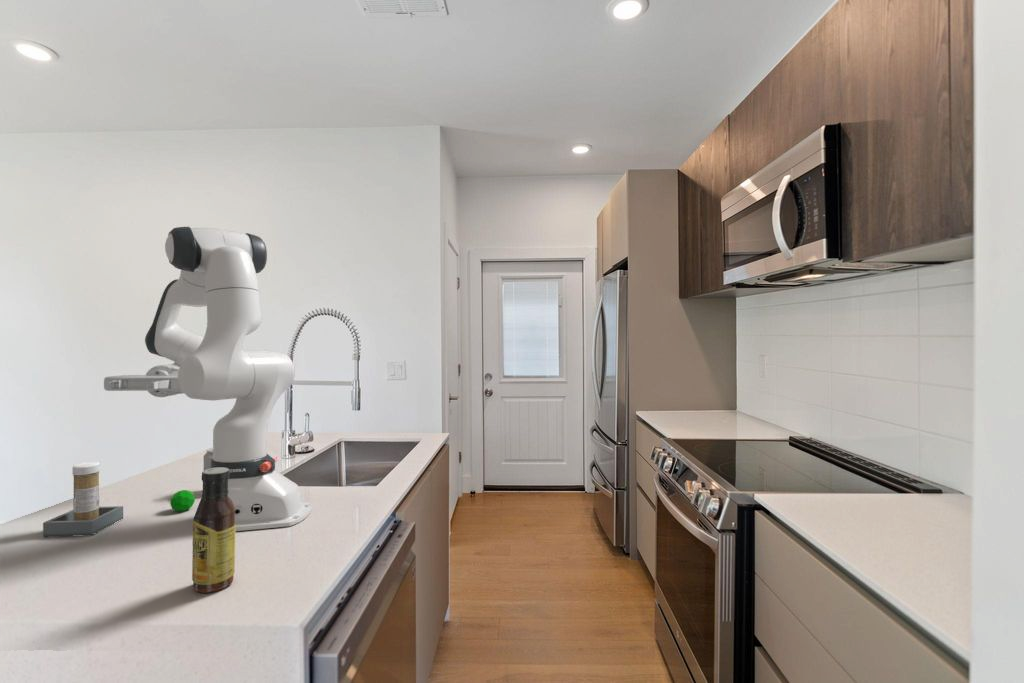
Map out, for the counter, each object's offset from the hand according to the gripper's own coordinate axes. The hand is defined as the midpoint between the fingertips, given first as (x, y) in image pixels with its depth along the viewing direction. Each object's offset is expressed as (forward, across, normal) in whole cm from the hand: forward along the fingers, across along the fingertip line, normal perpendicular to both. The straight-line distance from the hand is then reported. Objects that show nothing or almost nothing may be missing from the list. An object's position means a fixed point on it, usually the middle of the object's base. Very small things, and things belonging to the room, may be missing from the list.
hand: (131, 385), depth 125 cm
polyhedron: (+5, +15, +30) cm, 34 cm away
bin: (+15, 0, +30) cm, 33 cm away
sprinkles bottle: (+15, 0, +30) cm, 33 cm away
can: (-9, +17, +30) cm, 36 cm away
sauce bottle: (+44, +41, +30) cm, 67 cm away
